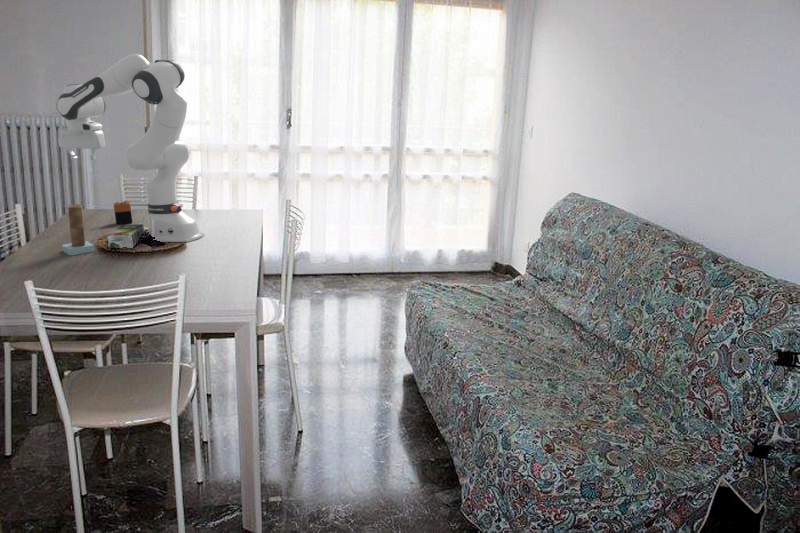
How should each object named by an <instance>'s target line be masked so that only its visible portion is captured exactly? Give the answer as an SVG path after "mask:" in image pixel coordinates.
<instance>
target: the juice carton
mask: <svg viewBox="0 0 800 533" xmlns="http://www.w3.org/2000/svg"><path fill="white" fill-rule="evenodd" d="M143 233H144V234H145V227H144V224H120V226H119V227H117V228H116V229H115V230H113V232H112V233H110V234H109V235H108V236H107V242H108V244H107V247H108V248H109V247H110V248H116V249H117V247H127V248H133V247H134V246H135V245H136V243H137V242H138V240H139V238H140V237H141V235H142V234H143ZM135 247H136V246H135ZM135 247H134V248H135ZM134 248H133V249H134Z"/></svg>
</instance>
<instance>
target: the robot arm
mask: <svg viewBox="0 0 800 533" xmlns="http://www.w3.org/2000/svg"><path fill="white" fill-rule="evenodd" d="M185 77H186V76H185V70H184V68H183V67H182V66H181V64H179V62H177V61H175V60H173V59H163V60H162V59H156V60H154V62H149V61H148V59H146V57H144V56H143V55H142V54H139V53H130V54H129V55H125V56H124V57H122V58H121V59H119V60H118V61H117V62H115V63H114V64H112V65H111V66H110V67H109V68H108V69H106V70H105V71H103V72H102V73H100V74H98V75H96V76H95V77H93V78H91V79H90V80H88V81H86V82H85V83H83V84H80V83H76V84H75V83H74V84H67V85H66V86H64V87H63V93H62V94H60V96H59V97H58V99H57V101H56V110H57V112H58V113H59V114H60V116H62V117H63V119H65V120H66V125H63V124H61V125H60V126H58V128H57V132H58V133H57V134H58V139H57V140H58V146H59V148H60V149H67V152H68V153H69V155H70V158H71V160H77V159H78V156H77V154H76V153H75V152H74V150H75V149H86V150H88V149H89V150H90V149H91V152H92V154H91V155H89V157H90V160H92V161H95V160H97V155H98V153H99V149H101V150H102V149H104V148H105V147H106V139H105V133H104V132H103V130H102V129H103V125H102V123H99V122H96V121H94V120H91V118H92V119H93V118H99V117H101V116H103V115H104V114H105V112H106V108H107V106H106V101H105V99H104V97H116V96H124V95H127V94H129V93H131V92H134V93H135V95H137V96H138V97H139V98H140V99H141V100H143V101H144V102H147V103H148V104H150V105H156V107H155V111H154V114H153V117H152V121H151V123H150V126H149V127H148V129H147V131H146V132H145V133H144V134H143V135H142V136H141V137H140V138H139V139H138V140H137V141H136V142H134V143H132V144H130V145H128V147H127V148H126V150H125V152H124V159H125V160H124V161H125V163H126V164H127V166H128V167H129V168H130V169H131V170H134V171H151V170H157V173H156V174H155V176H154V177H153V178H152V179H150V180H149V181H148V183H147V186H146V193H147V200H148V203H147V211H148V215H149V233H148V235H149V234H150V235H151V236H152V237H155V239H153V240H157V241H160V242H161V243H162V242H163V243H164V242H166V243H168V242H177V243H179V242H181V243H185V242H192V241H196V240H199V239H201V238H203V237H204V236H205V235H206V234H205V232H204V231H199V226H198V222H197V221H196V220H195V219H194V218H192V217H191V216H189V215H188V214H187V213H185V212H184V211H183V209H182V208H183V207H184V203H181V204H180V203H179V201H178V199H177V198H178V197H177V179H178V176H179V173H180V172H181V169H182V168H183V167H184V165H186V164H187V162H188V160H189V158H190V151H189V148H188V145H186V143H184V142H183V141H182V140H181V141H180V140H179V138H180V136H181V133H182V129H183V126H184V122H185V119H186V116H187V109H188V108H187V107H188V102H187V100H186V98H185V97H184V95H183V94H182V93H180V92H177V90H176V89H177V88H180V86H181V85H182V84H183V82H185Z"/></svg>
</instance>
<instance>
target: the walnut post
mask: <svg viewBox="0 0 800 533" xmlns="http://www.w3.org/2000/svg"><path fill="white" fill-rule="evenodd" d="M67 210H68V221H69V229H70V230H69V231H70V244H71V243H72V246H85V241H86V236H85V235H86V234H85V233H86V232H85V225H84V224H85V222H84V213H83V212H84V210H83V204H68V207H67Z"/></svg>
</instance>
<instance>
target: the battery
mask: <svg viewBox="0 0 800 533" xmlns="http://www.w3.org/2000/svg"><path fill="white" fill-rule="evenodd" d="M131 208H132V207H131V203H130V201H128V200H123V201H122V202H120V201H115V202H114V203H113V211H114V216H115V217H114V218H115V224H116V225H131V224H132V223H133V218H132V217H133V216H132V209H131Z"/></svg>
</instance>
